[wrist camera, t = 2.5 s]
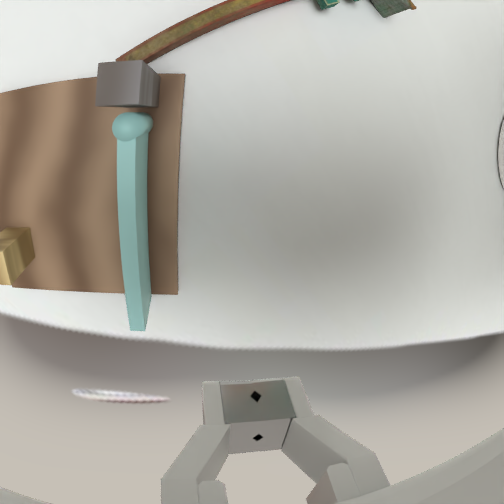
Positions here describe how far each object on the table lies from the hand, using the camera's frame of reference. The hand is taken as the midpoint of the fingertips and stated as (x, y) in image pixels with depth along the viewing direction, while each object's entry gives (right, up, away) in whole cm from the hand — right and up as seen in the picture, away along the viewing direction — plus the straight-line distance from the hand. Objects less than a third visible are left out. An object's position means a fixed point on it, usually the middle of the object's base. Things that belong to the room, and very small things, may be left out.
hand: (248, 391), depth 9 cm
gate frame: (-15, +10, +14) cm, 23 cm away
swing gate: (-9, +8, +15) cm, 19 cm away
